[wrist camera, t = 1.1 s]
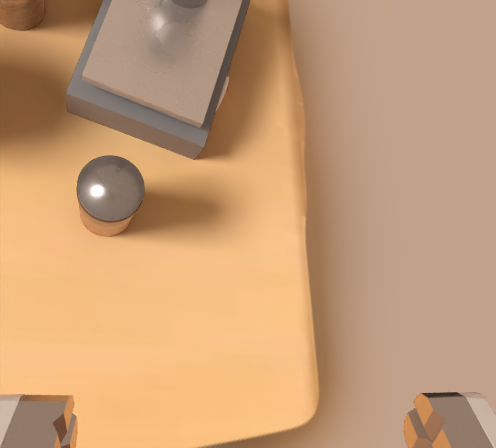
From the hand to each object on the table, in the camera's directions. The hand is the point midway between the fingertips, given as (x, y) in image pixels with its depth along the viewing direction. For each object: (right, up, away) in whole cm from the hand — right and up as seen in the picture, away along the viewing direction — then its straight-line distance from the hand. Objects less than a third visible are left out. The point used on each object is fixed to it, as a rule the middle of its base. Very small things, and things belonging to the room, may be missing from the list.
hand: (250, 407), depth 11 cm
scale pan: (-7, +21, +28) cm, 36 cm away
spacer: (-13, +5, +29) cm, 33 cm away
